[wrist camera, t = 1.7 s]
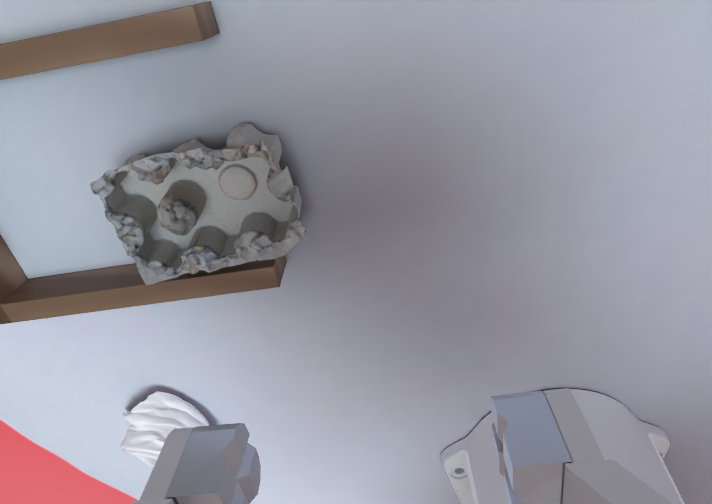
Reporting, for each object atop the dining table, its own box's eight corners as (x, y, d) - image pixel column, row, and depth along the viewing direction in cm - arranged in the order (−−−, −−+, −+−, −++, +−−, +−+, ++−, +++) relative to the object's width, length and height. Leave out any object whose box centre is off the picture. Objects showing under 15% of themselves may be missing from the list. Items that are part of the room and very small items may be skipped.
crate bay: (286, 261, 33) (279, 286, 30) (19, 298, 35) (-9, 325, 33) (210, 1, 25) (192, 6, 23) (-129, 70, 27) (-181, 81, 25)
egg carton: (277, 111, 27) (268, 137, 24) (313, 224, 31) (310, 260, 28) (102, 152, 28) (69, 183, 25) (159, 256, 32) (137, 295, 29)
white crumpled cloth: (236, 417, 41) (221, 468, 37) (198, 456, 44) (180, 507, 40) (151, 373, 39) (124, 422, 35) (116, 417, 42) (87, 468, 38)
